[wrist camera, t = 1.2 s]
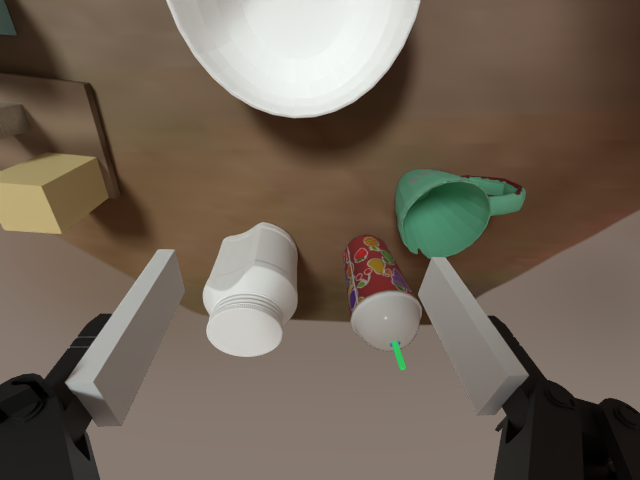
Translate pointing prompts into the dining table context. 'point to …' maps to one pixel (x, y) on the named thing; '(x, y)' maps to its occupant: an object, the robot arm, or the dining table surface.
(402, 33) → the bowl
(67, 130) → the board
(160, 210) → the dining table surface
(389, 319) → the smoothie
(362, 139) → the dining table surface
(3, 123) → the post
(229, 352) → the jar
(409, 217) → the mug
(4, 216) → the pale yellow block
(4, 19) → the teal rectangular block
